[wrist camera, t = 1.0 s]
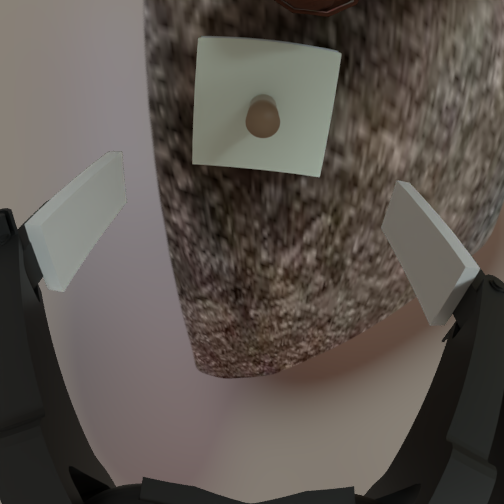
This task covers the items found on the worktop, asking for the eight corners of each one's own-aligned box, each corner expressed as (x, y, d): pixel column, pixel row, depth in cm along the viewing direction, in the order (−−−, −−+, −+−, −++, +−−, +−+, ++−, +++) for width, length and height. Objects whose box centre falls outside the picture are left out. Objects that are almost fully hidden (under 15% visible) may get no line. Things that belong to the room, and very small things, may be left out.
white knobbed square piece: (333, 53, 30) (366, 52, 20) (315, 166, 40) (333, 211, 29) (204, 39, 30) (176, 31, 19) (198, 154, 39) (173, 195, 29)
